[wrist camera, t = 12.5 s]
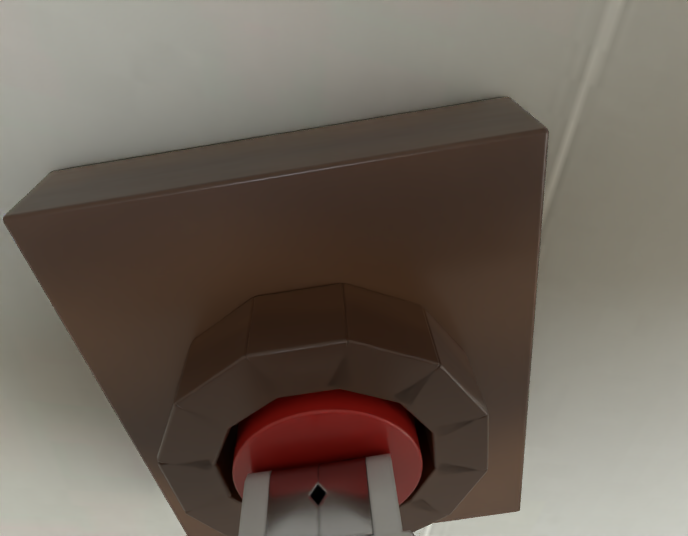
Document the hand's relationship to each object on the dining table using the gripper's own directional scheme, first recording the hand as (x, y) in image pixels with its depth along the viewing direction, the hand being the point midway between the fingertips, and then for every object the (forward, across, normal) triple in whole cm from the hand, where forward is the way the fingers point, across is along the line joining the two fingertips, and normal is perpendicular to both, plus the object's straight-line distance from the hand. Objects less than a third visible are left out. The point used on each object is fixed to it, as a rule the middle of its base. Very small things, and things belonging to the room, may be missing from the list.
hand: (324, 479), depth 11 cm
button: (+2, 0, 0) cm, 2 cm away
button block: (+4, 0, 0) cm, 4 cm away
